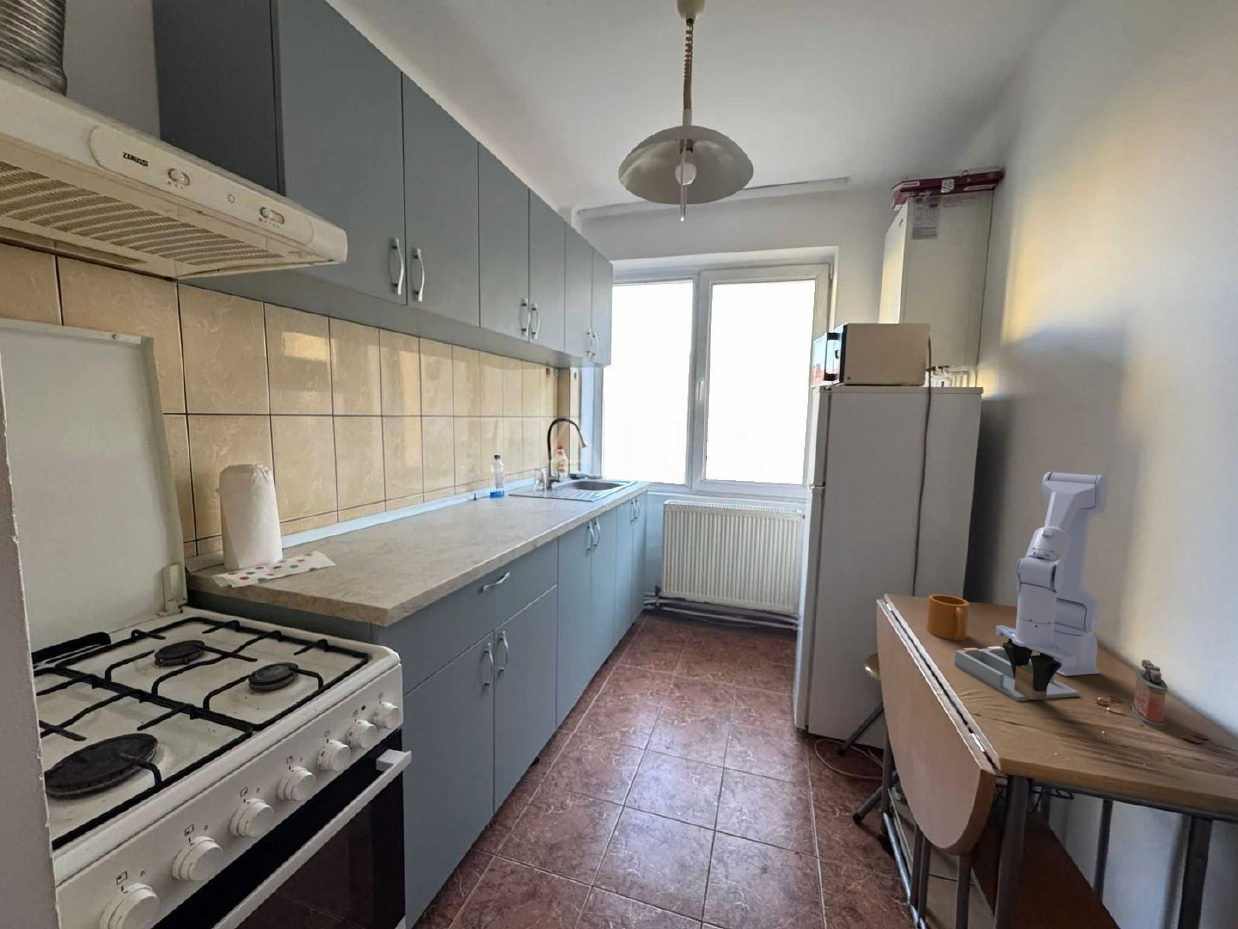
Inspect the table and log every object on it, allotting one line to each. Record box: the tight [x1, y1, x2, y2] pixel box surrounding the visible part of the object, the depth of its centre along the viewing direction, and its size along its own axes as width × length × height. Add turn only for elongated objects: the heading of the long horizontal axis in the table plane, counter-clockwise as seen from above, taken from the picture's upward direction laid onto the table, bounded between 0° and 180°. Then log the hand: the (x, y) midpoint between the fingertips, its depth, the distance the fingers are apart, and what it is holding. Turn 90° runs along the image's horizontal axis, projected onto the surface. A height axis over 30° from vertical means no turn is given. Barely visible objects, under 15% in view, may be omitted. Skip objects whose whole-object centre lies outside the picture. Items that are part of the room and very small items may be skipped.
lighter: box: [1131, 659, 1168, 730], centre depth 93 cm, size 8×3×10 cm, turn 148°
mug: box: [926, 594, 970, 642], centre depth 129 cm, size 9×12×9 cm
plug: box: [1014, 665, 1047, 700], centre depth 100 cm, size 4×4×5 cm
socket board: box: [954, 645, 1080, 702], centre depth 107 cm, size 14×15×4 cm
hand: (1029, 685), depth 100 cm, fingers closed on plug, 3 cm apart
